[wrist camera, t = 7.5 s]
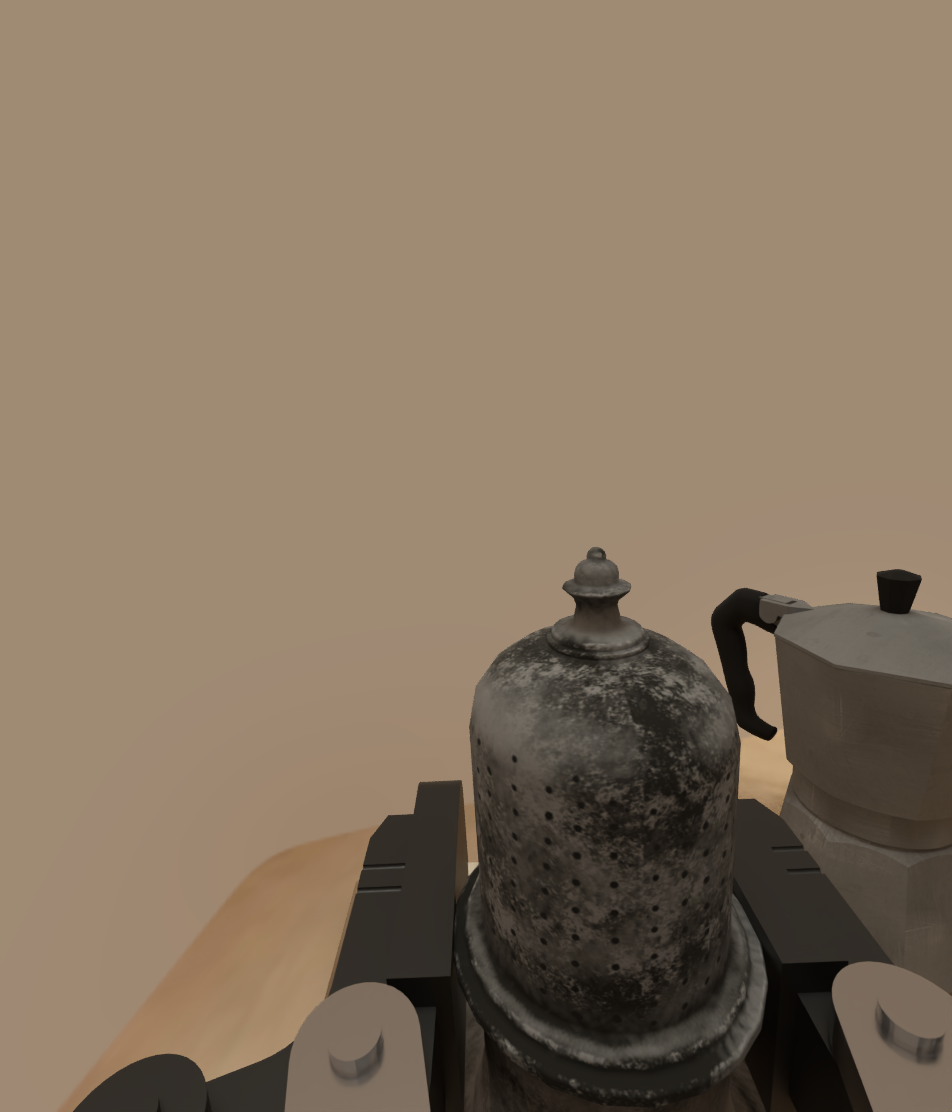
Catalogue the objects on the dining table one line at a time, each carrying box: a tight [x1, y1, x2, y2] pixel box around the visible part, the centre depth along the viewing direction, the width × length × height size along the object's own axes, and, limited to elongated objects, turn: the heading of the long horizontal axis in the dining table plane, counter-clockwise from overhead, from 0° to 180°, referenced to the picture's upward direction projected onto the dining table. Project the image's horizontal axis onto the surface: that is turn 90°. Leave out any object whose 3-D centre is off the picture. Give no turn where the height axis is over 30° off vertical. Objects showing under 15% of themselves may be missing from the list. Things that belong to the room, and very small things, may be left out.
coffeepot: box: [711, 569, 952, 995], centre depth 27 cm, size 15×9×18 cm, turn 32°
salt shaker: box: [454, 547, 768, 1112], centre depth 7 cm, size 6×6×12 cm
